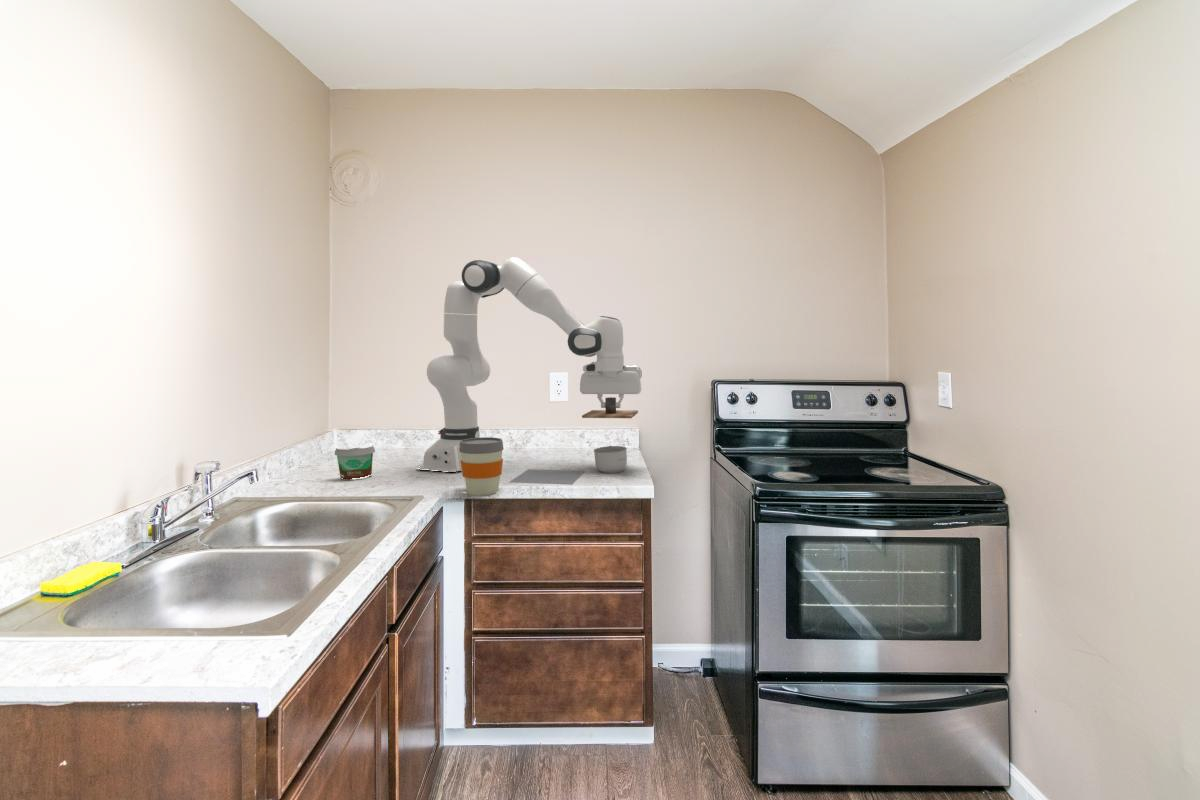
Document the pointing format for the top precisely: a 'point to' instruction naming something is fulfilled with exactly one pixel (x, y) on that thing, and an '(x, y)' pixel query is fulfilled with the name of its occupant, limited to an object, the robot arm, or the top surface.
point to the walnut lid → (610, 411)
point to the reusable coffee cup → (481, 464)
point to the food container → (355, 462)
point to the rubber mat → (548, 476)
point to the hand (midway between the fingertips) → (610, 407)
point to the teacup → (611, 459)
